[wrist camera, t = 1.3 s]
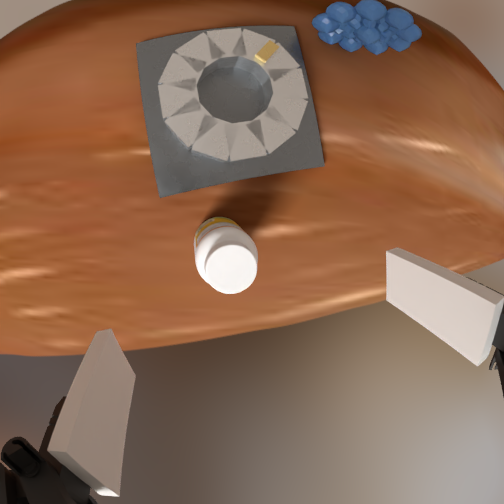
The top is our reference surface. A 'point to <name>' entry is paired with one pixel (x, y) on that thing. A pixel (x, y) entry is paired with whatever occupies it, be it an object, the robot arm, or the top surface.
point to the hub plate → (226, 106)
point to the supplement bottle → (225, 255)
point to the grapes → (366, 27)
